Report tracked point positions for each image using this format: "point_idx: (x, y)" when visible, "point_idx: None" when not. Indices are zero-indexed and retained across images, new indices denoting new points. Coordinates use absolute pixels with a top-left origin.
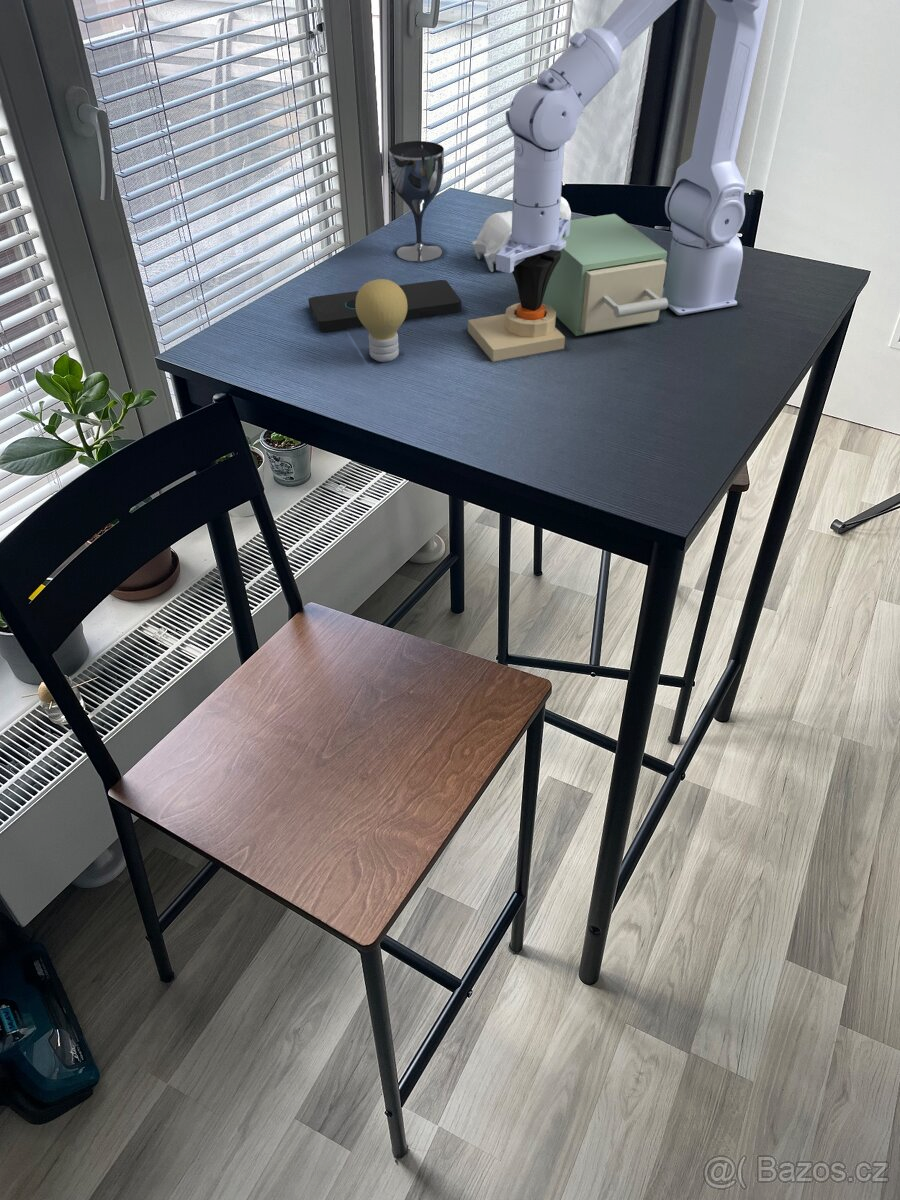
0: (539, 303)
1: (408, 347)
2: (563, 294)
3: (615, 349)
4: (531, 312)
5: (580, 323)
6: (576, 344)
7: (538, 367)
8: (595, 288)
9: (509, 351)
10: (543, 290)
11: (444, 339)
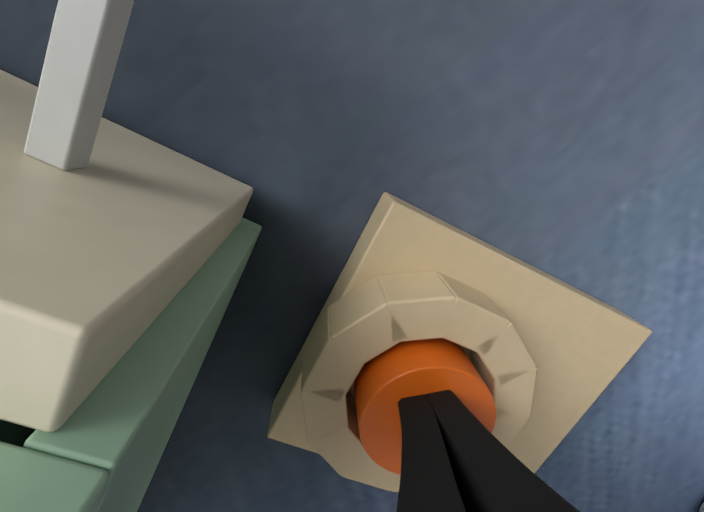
0: (437, 411)
1: (647, 503)
2: (169, 423)
3: (221, 7)
4: (476, 390)
5: (235, 234)
6: (314, 181)
7: (567, 169)
8: (100, 229)
9: (589, 297)
10: (443, 470)
11: (559, 481)
